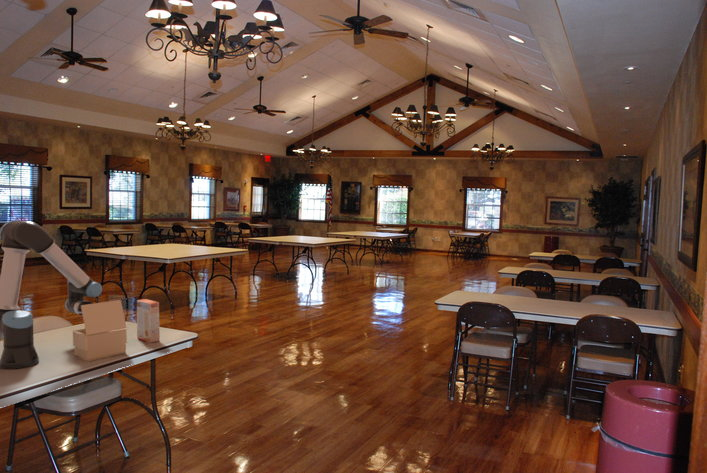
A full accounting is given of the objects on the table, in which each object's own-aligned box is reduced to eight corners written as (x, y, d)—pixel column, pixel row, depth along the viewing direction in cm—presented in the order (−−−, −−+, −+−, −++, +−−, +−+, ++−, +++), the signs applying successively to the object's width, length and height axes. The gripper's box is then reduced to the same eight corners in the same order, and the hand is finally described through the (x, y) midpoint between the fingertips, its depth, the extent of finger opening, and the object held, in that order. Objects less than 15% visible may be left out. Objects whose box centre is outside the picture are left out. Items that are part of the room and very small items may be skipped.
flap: (125, 328, 264) (126, 327, 264) (86, 335, 250) (87, 335, 250) (120, 300, 267) (120, 299, 266) (80, 305, 253) (81, 305, 252)
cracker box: (160, 341, 287) (159, 301, 286) (149, 343, 283) (148, 303, 281) (147, 336, 297) (147, 298, 295) (136, 338, 292) (136, 299, 291)
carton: (127, 353, 265) (126, 328, 264) (86, 362, 251) (85, 336, 250) (112, 347, 275) (112, 323, 274) (73, 355, 260) (72, 330, 259)
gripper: (98, 313, 281) (121, 320, 266) (71, 317, 271) (94, 325, 256) (97, 299, 280) (120, 305, 265) (71, 302, 271) (93, 309, 255)
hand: (107, 315), depth 261 cm, fingers closed
